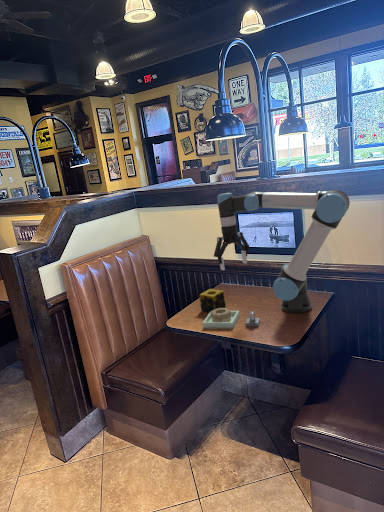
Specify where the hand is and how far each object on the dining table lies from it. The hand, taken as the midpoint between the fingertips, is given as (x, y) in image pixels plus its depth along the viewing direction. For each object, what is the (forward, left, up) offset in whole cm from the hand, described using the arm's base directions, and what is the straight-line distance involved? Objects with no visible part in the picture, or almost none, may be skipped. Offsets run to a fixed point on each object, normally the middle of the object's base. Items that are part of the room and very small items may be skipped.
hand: (234, 266), depth 189 cm
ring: (+8, +9, -25) cm, 28 cm away
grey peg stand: (-9, +12, -26) cm, 30 cm away
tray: (+7, +10, -26) cm, 29 cm away
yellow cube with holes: (+16, -7, -26) cm, 31 cm away
